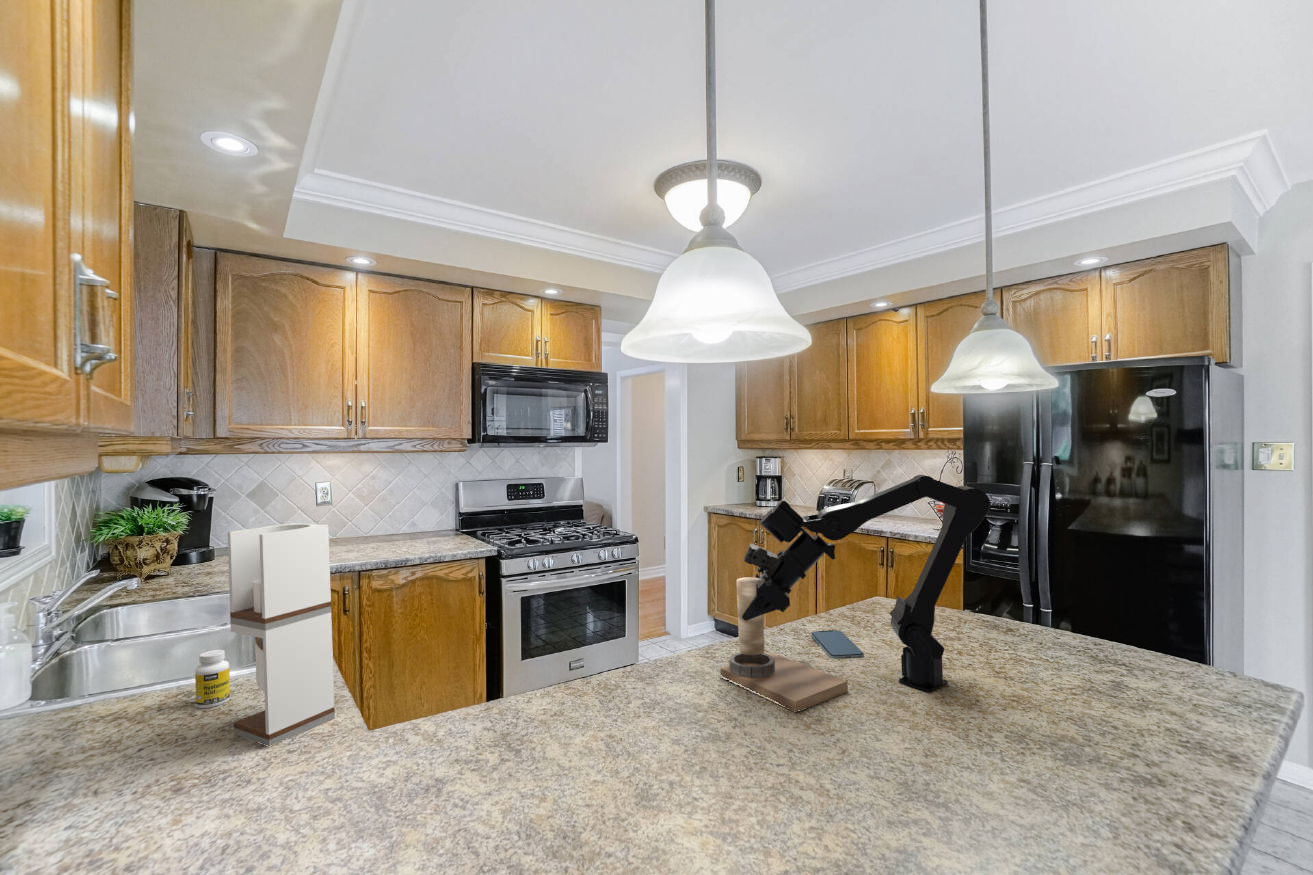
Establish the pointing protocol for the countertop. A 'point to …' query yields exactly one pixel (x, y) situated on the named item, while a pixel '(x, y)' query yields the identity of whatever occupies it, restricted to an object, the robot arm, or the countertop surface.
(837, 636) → the smartphone
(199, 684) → the supplement bottle
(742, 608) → the stool leg
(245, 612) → the display case
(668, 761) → the countertop surface
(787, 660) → the stool seat
